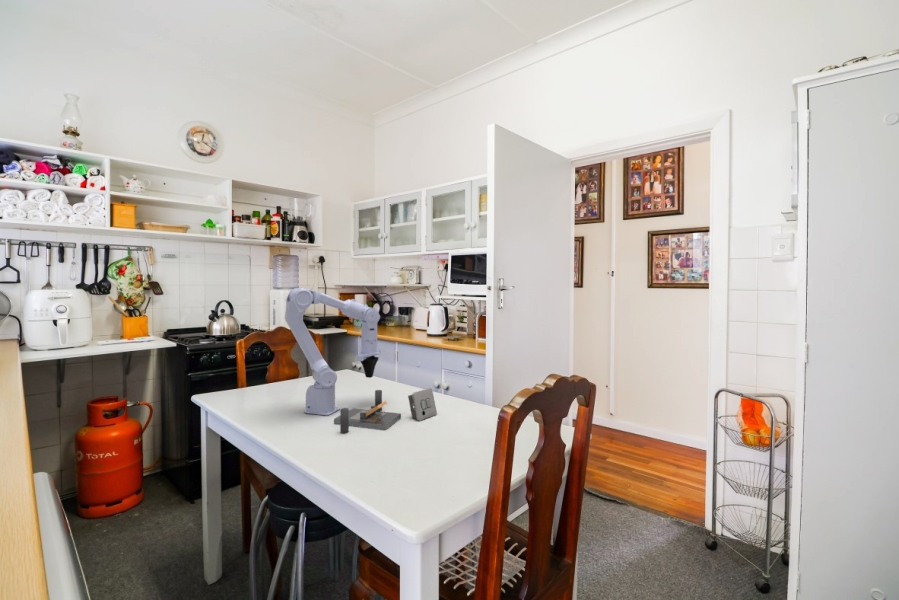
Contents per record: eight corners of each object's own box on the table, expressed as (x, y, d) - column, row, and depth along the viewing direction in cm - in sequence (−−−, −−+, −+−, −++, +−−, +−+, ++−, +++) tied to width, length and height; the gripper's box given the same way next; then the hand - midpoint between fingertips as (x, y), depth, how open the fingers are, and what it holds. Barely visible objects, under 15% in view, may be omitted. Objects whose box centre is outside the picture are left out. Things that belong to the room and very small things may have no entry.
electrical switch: (418, 421, 142) (417, 393, 142) (407, 420, 145) (406, 392, 145) (437, 415, 149) (435, 388, 149) (426, 413, 152) (424, 387, 152)
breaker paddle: (360, 414, 139) (376, 405, 137) (369, 409, 145) (385, 399, 143) (363, 419, 139) (379, 409, 137) (372, 413, 145) (387, 404, 143)
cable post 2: (373, 410, 152) (373, 391, 152) (376, 409, 155) (376, 389, 154) (380, 411, 152) (380, 391, 151) (382, 409, 154) (383, 390, 154)
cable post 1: (338, 432, 130) (338, 410, 130) (343, 430, 133) (343, 407, 132) (345, 433, 130) (345, 410, 129) (350, 431, 132) (350, 408, 132)
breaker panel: (334, 423, 138) (334, 412, 138) (352, 412, 150) (352, 401, 150) (385, 430, 133) (385, 418, 133) (400, 418, 145) (401, 407, 145)
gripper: (370, 343, 150) (369, 382, 151) (387, 338, 164) (387, 373, 164) (351, 342, 152) (351, 380, 153) (371, 337, 166) (370, 372, 166)
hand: (369, 377), depth 159 cm, fingers closed
